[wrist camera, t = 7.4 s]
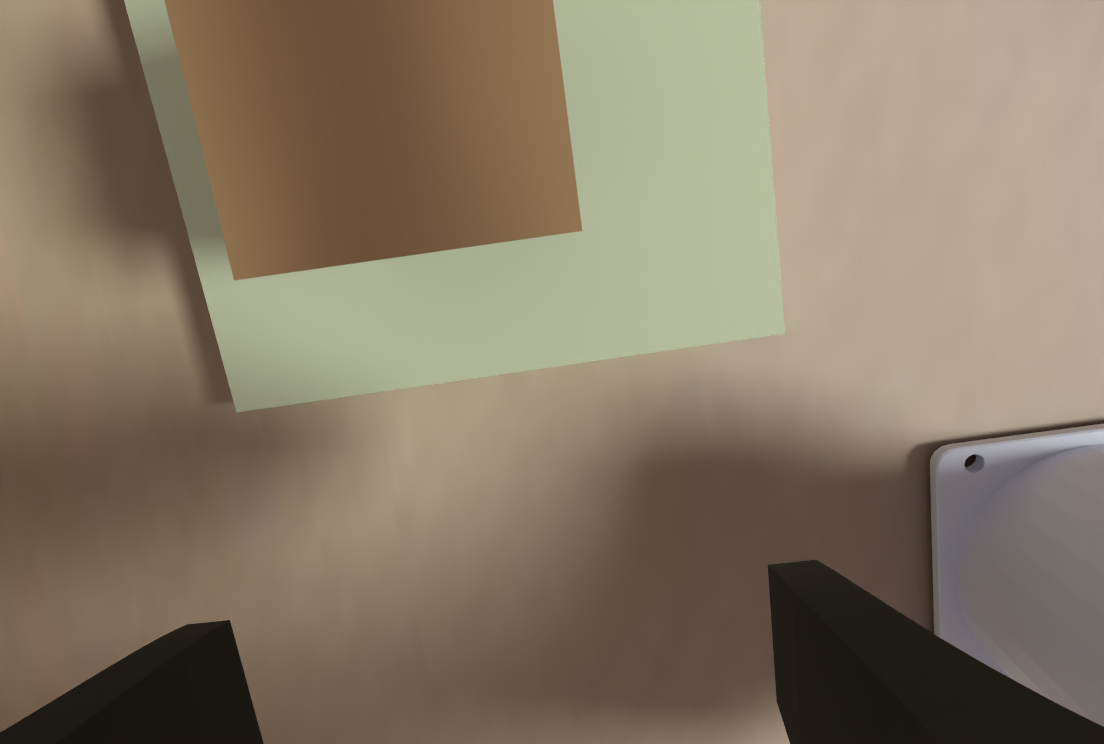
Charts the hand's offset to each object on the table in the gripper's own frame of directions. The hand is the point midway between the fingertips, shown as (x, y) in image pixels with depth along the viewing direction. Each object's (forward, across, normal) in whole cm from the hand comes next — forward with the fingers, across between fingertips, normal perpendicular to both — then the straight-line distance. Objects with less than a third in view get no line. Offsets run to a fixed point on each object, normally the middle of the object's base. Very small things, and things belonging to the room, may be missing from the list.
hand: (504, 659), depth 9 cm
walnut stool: (+9, +1, -8) cm, 12 cm away
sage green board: (+10, +1, -8) cm, 13 cm away
